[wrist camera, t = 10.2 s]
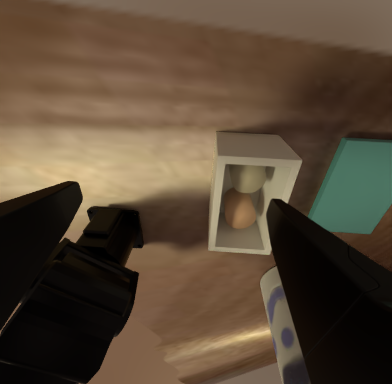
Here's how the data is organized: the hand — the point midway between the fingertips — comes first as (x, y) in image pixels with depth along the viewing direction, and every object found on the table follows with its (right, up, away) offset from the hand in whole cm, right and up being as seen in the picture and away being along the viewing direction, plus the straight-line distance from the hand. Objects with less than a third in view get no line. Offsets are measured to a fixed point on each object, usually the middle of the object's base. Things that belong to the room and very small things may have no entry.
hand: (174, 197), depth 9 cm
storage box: (+6, +2, +13) cm, 14 cm away
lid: (+18, +1, +12) cm, 21 cm away
